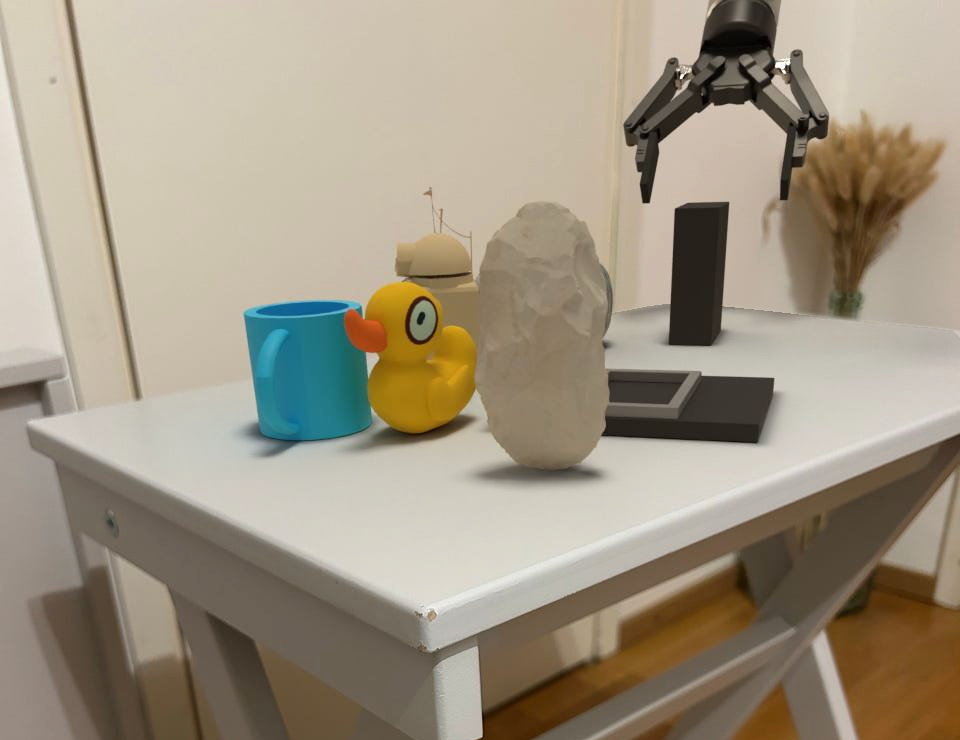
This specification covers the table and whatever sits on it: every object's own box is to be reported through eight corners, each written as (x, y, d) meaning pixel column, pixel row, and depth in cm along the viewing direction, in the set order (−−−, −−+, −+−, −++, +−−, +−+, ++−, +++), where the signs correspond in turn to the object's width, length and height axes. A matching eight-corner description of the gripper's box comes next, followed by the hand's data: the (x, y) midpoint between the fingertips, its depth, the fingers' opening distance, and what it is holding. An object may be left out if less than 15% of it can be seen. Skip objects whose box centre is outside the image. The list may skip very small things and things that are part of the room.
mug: (286, 410, 77) (272, 300, 73) (386, 412, 75) (377, 299, 71) (214, 454, 67) (194, 328, 63) (328, 457, 65) (314, 328, 61)
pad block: (720, 330, 101) (729, 201, 95) (710, 345, 94) (719, 207, 88) (681, 330, 102) (687, 202, 96) (668, 344, 95) (674, 208, 90)
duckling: (388, 456, 64) (374, 294, 60) (332, 444, 68) (315, 290, 63) (499, 418, 72) (494, 272, 68) (444, 409, 75) (436, 269, 71)
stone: (611, 456, 62) (617, 195, 56) (606, 482, 58) (611, 201, 51) (488, 454, 64) (478, 200, 57) (473, 480, 59) (461, 206, 52)
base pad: (773, 393, 76) (775, 366, 75) (757, 442, 64) (760, 411, 63) (545, 385, 81) (545, 360, 80) (492, 429, 69) (491, 401, 68)
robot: (387, 370, 89) (372, 187, 83) (476, 364, 90) (469, 183, 83) (389, 395, 80) (373, 192, 73) (489, 389, 81) (482, 187, 74)
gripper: (863, 50, 104) (842, 216, 98) (627, 65, 112) (595, 221, 106) (870, -16, 97) (849, 158, 91) (618, 5, 105) (584, 167, 99)
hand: (712, 192), depth 99 cm, fingers open, 13 cm apart
